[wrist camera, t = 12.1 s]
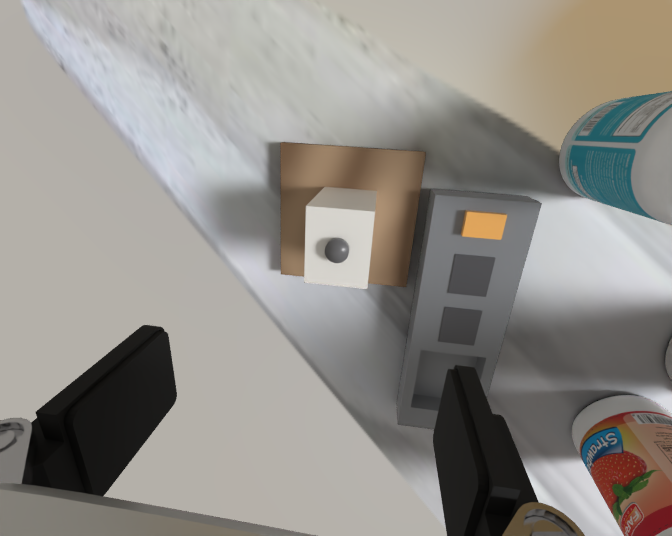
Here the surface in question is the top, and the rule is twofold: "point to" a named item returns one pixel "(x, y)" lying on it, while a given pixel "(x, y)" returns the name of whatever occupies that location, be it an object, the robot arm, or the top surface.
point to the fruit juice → (629, 460)
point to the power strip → (462, 293)
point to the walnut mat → (353, 173)
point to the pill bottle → (623, 155)
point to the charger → (339, 237)
